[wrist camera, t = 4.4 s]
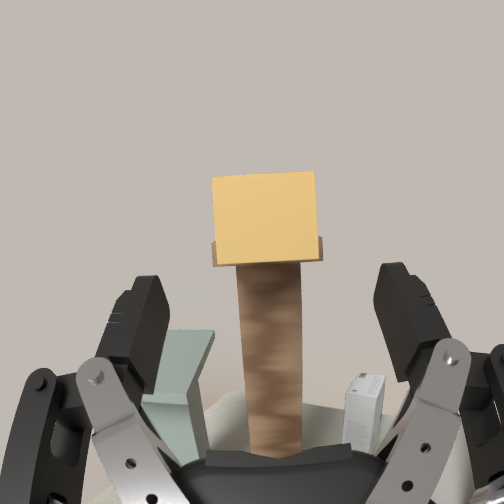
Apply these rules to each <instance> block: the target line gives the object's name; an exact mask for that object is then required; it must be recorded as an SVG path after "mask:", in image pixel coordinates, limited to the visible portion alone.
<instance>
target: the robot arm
mask: <svg viewBox="0 0 504 504" xmlns="http://www.w3.org/2000/svg"><path fill="white" fill-rule="evenodd" d="M430 295H431V294H430V293H429V291H428V289H427V287H426V285H425V284H424V283H423V282H422V281H421V280H420V279H419V278H418V277H417V276H416V275H409V273H408V271H407V269H406V267H405V265H404V264H403V263H402V262H396V263H383V264H382V265H381V267H380V271H379V276H378V280H377V284H376V288H375V292H374V298H373V299H374V309H375V312H376V315H377V318H378V321H379V324H380V327H381V330H382V333H383V335H384V339H385V342H386V345H387V348H388V351H389V354H390V358H391V361H392V364H393V367H394V371H395V374H396V378H397V381H398V382H404V381H408V382H409V385H410V388H409V390H408V392H407V394H406V396H405V398H404V401H403V403H402V405H401V407H400V409H399V412H398V414H397V416H396V418H395V420H394V422H393V424H392V426H391V428H390V430H389V432H388V433H387V435H386V437H385V438H384V440H383V441H382V443H381V444H380V446H379V447H378V449H377V451H376V453H375V454H374V455H372V454H369V453H366V452H362V451H357V450H352V448H351V443H344V444H337V445H330V446H321V447H315V448H312V449H309V450H306V451H303V452H300V453H297V454H293V455H290V456H287V457H284V458H272V457H267V456H262V455H257V454H252V453H248V452H243V451H212V450H206V457H205V458H201V459H197V460H194V461H192V462H189V463H187V464H185V465H183V466H182V465H181V464H180V462H179V461H178V459H177V458H176V457H175V455H174V454H173V453H172V451H171V450H170V449H169V448H168V446H167V445H166V443H165V442H164V440H163V439H162V437H161V436H160V434H159V432H158V431H157V429H156V427H155V426H154V424H153V422H152V421H151V419H150V417H149V416H148V414H147V412H146V410H145V409H144V407H143V405H142V404H141V401H142V396H143V394H148V395H153V394H154V389H155V384H156V379H157V374H158V369H159V365H160V360H161V355H162V351H163V346H164V342H165V337H166V333H167V328H168V324H169V320H170V309H169V304H168V301H167V299H166V296H165V293H164V290H163V287H162V284H161V282H160V279H159V277H158V276H157V275H154V276H138V277H136V279H135V282H134V284H133V287H132V289H131V290H125V291H124V293H123V294H122V295H121V296H120V297H119V298H118V299H117V300H116V303H115V305H114V308H113V310H112V314H111V315H110V318H109V320H108V321H109V323H107V325H106V328H105V331H104V333H103V336H102V339H101V341H100V344H99V347H98V350H97V352H96V355H95V357H94V358H91V359H89V360H87V361H85V362H84V363H83V364H82V365H81V366H80V368H79V369H78V371H77V372H76V373H71V374H67V375H61V376H56V375H55V374H54V373H53V372H52V371H51V370H50V369H48V368H40V369H37V370H35V371H34V372H33V373H31V374H30V376H29V377H28V379H27V381H26V383H25V386H24V389H23V392H22V395H21V398H20V401H19V404H18V407H17V411H16V414H15V417H14V421H13V424H12V428H11V431H10V435H9V439H8V443H7V447H6V451H5V456H4V460H3V465H2V470H1V475H0V504H81V497H82V489H83V480H84V473H85V467H86V460H87V454H88V448H89V442H90V436H91V431H92V428H93V429H94V432H95V433H94V434H93V435H92V442H93V444H94V447H95V449H96V451H97V453H98V456H99V458H100V460H101V462H102V464H103V466H104V468H105V471H106V472H107V474H108V477H109V478H110V481H111V482H112V484H113V486H114V488H115V490H116V492H117V494H118V496H119V497H120V499H121V501H122V503H123V504H436V503H435V502H434V501H432V500H431V499H430V498H431V496H432V494H433V492H434V490H435V488H436V486H437V483H438V481H439V479H440V477H441V474H442V472H443V470H444V467H445V465H446V462H447V460H448V457H449V455H450V452H451V450H452V447H453V444H454V441H455V439H456V436H457V433H458V430H459V427H460V423H461V420H462V424H463V428H464V432H465V437H466V441H467V446H468V451H469V456H470V461H471V466H472V472H473V478H474V485H475V492H474V493H473V495H472V496H471V498H470V501H469V503H468V504H504V344H500V345H497V346H496V347H495V348H494V349H493V350H492V352H491V353H490V354H486V353H476V352H470V351H469V350H468V348H467V347H466V345H464V344H463V343H462V342H461V341H459V340H456V339H453V338H452V337H451V335H450V333H449V331H448V329H447V326H446V325H445V322H444V320H443V318H442V316H441V314H440V312H439V310H438V308H437V306H435V303H434V300H433V298H432V297H431V296H430ZM494 401H495V404H496V407H497V410H498V413H499V417H500V421H501V424H500V421H499V417H498V414H497V410H496V407H495V404H494ZM458 409H459V412H460V415H459V414H458ZM55 423H56V424H55ZM54 427H55V428H54ZM53 431H54V433H53ZM52 436H53V437H52ZM51 440H52V442H51Z"/></svg>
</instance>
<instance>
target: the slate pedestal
mask: <svg viewBox="0 0 504 504" xmlns="http://www.w3.org/2000/svg"><path fill="white" fill-rule="evenodd" d="M214 339H215V333H214V330H167V333H166V337H165V342H164V346H163V351H162V355H161V360H160V365H159V369H158V374H157V379H156V384H155V389H154V394H153V395H148V394H143V396H142V401H141V404H142V405H143V407H144V409H145V410H146V412H147V414H148V416H149V417H150V419H151V421H152V422H153V424H154V426H155V427H156V429H157V431H158V432H159V434H160V436H161V437H162V439H163V440H164V442H165V443H166V445H167V446H168V448H169V449H170V450H171V451H172V453H173V454H174V455H175V457H176V458H177V459H178V461H179V462H180V464H181V465H182V466H183V465H185V464H187V463H189V462H192V461H194V460H197V459H201V458H205V457H206V450H210V447H209V442H208V436H207V431H206V425H205V420H204V414H203V408H202V402H201V396H200V390H199V383H198V378H199V376H200V374H201V371H202V369H203V366H204V364H205V361H206V359H207V356H208V354H209V351H210V349H211V346H212V344H213V341H214Z"/></svg>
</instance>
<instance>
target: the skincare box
mask: <svg viewBox="0 0 504 504" xmlns="http://www.w3.org/2000/svg"><path fill="white" fill-rule="evenodd" d="M385 379H386V376H383V375H374V374H364V373H359V374H358V375H357V377H356V378H355V380H353V382H352V383H351V386H350V388H349V389H348V391H347V393H346V396H345V410H344V423H343V433H342V442H341V444H344V443H351V448H352V450H357V451H362V452H366V453H369V454H372V453H373V451H374V449H375V446H376V443H377V439H378V434H379V427H380V421H381V415H382V407H383V399H384V388H385Z"/></svg>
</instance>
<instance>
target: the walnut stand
mask: <svg viewBox="0 0 504 504" xmlns="http://www.w3.org/2000/svg"><path fill="white" fill-rule="evenodd" d="M211 245H212V259H213V267H219V266H236V274H237V288H238V302H239V316H240V328H241V342H242V354H243V366H244V379H245V391H246V402H247V414H248V425H249V436H250V447H251V453H252V454H257V455H262V456H267V457H272V458H284V457H287V456H290V455H293V454H297V453H300V452H303V451H306V450H302V451H301V432H302V302H301V271H300V269H301V268H300V262H312V261H323V248H322V247H323V245H322V237H320V236H318V247H319V259H307V260H290V261H272V262H253V263H234V264H217V251H216V241H215V242H213V243H212V244H211Z"/></svg>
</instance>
